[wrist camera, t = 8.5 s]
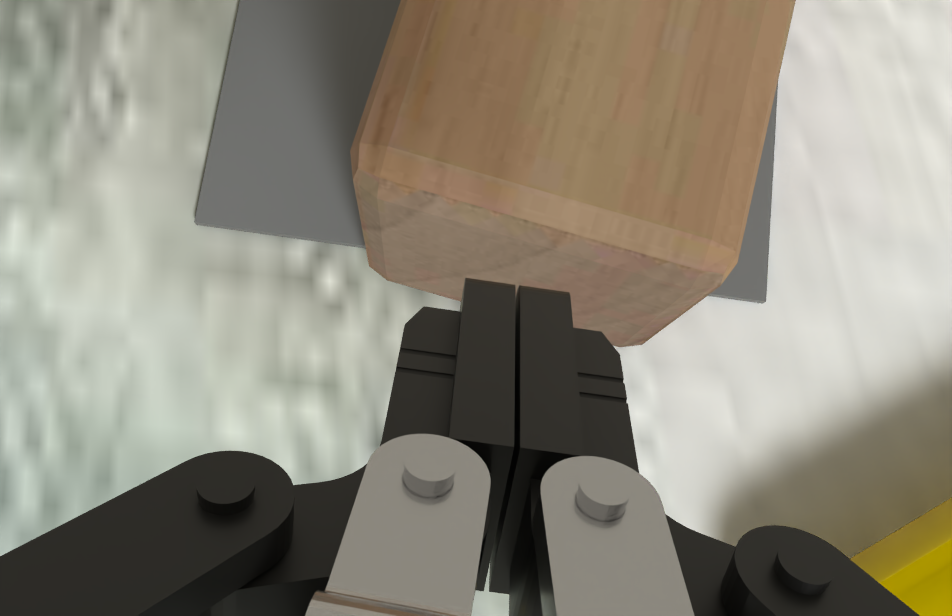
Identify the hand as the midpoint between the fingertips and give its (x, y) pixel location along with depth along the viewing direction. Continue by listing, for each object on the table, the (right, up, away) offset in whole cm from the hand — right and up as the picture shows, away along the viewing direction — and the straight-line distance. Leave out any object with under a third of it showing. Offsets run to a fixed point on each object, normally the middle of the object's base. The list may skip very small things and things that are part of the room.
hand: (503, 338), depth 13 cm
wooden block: (+1, +1, +13) cm, 13 cm away
